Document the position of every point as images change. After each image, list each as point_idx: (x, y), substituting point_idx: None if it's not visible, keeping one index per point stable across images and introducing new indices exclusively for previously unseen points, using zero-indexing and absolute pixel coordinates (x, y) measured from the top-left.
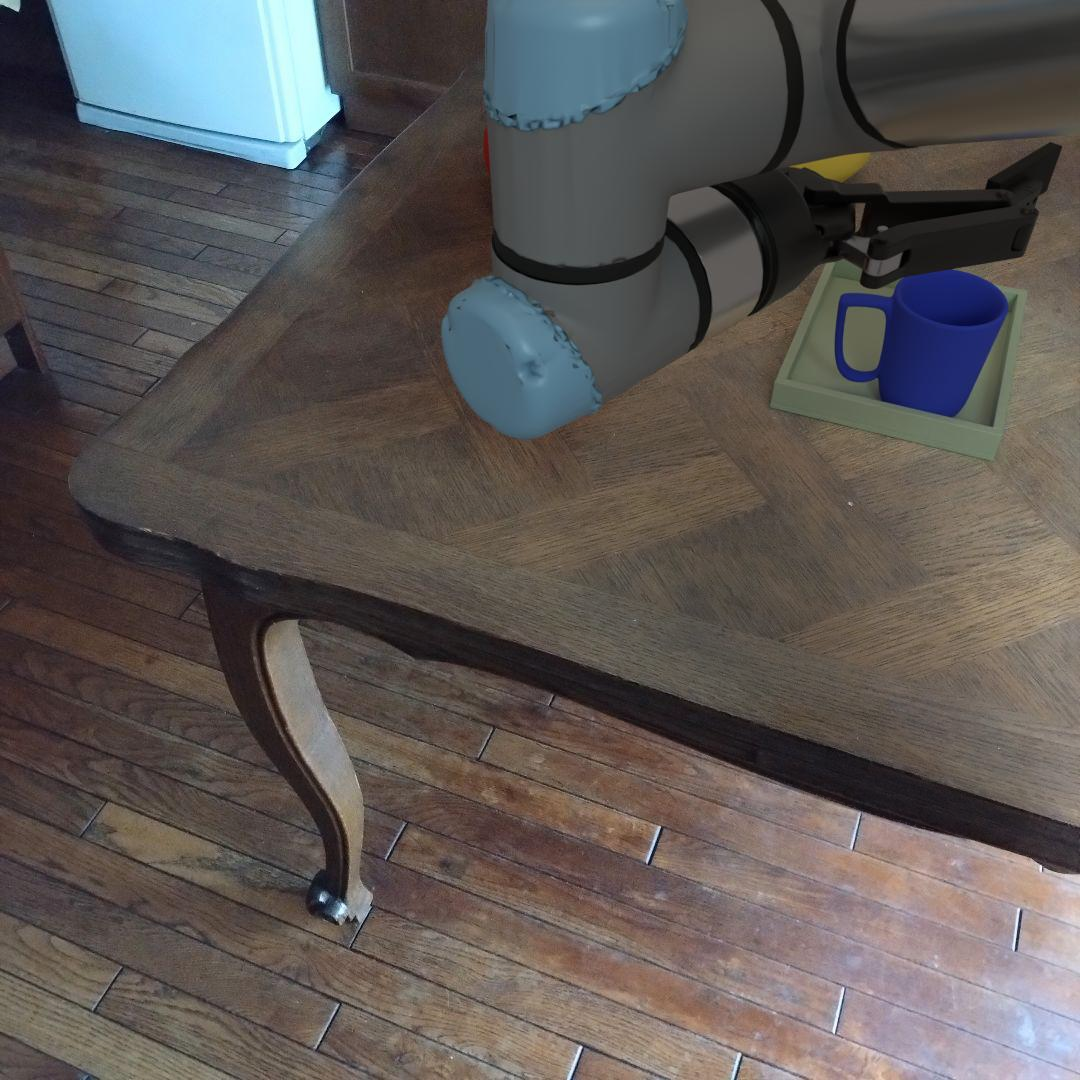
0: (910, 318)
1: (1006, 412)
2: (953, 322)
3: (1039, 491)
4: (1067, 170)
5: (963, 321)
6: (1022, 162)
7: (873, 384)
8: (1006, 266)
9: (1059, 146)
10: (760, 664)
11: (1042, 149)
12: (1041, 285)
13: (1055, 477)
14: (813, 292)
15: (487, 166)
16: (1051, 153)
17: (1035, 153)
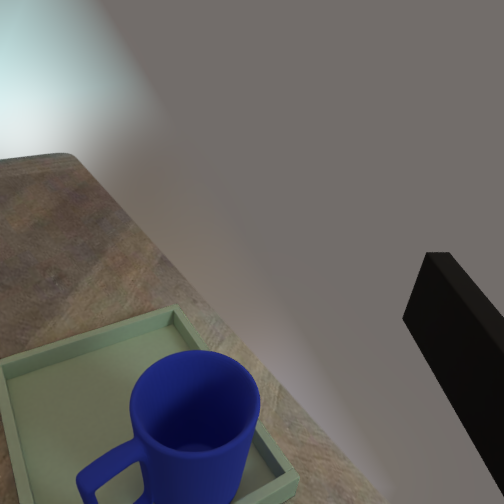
0: (184, 461)
1: (276, 444)
2: (186, 397)
3: (349, 496)
4: (107, 194)
5: (196, 392)
6: (498, 332)
7: (139, 494)
8: (133, 283)
9: (450, 255)
10: None
11: (450, 276)
12: (167, 286)
13: (340, 467)
14: (4, 428)
15: None
16: (469, 277)
17: (462, 292)
